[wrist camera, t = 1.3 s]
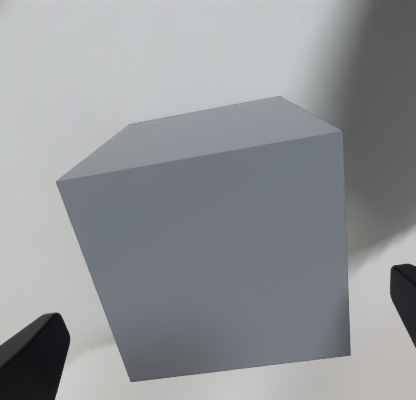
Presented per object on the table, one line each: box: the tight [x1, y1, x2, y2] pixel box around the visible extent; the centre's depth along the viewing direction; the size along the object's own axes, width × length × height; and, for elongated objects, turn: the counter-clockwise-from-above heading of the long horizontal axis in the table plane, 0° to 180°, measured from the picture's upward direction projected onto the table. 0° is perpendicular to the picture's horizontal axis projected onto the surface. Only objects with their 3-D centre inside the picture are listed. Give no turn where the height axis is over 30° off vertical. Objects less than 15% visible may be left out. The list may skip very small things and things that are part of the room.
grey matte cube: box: [56, 96, 351, 382], centre depth 14 cm, size 8×8×9 cm
